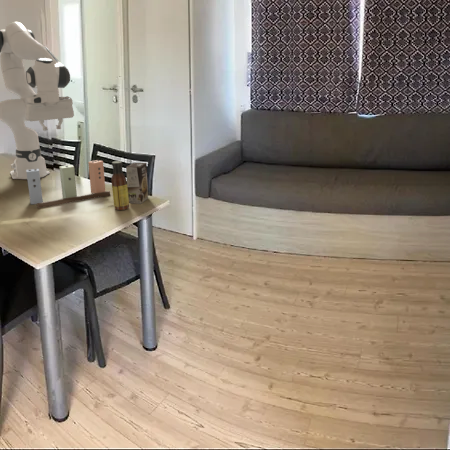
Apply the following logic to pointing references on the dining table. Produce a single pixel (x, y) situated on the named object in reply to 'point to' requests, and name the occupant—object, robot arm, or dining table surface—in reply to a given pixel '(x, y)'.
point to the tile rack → (73, 199)
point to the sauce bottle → (119, 187)
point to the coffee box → (137, 182)
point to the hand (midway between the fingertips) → (52, 129)
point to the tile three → (96, 176)
